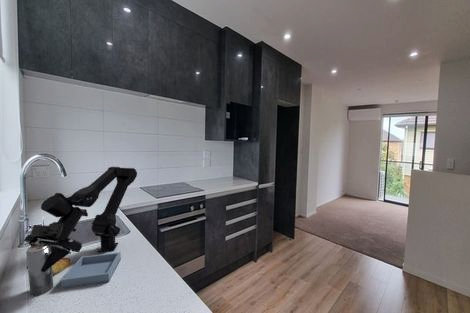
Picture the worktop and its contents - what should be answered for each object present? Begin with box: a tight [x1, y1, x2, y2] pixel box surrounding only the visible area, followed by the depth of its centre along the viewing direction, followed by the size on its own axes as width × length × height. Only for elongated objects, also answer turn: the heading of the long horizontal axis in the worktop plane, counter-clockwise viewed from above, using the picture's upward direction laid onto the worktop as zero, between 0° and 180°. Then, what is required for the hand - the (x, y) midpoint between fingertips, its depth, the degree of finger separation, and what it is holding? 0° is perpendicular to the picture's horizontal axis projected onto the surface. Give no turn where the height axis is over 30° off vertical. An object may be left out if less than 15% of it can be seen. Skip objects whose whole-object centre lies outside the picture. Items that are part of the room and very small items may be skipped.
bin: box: [60, 252, 122, 289], centre depth 78 cm, size 14×14×3 cm
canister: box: [25, 243, 54, 297], centre depth 69 cm, size 6×6×15 cm
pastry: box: [52, 257, 72, 276], centre depth 80 cm, size 9×7×4 cm
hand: (35, 270), depth 67 cm, fingers closed on canister, 6 cm apart
